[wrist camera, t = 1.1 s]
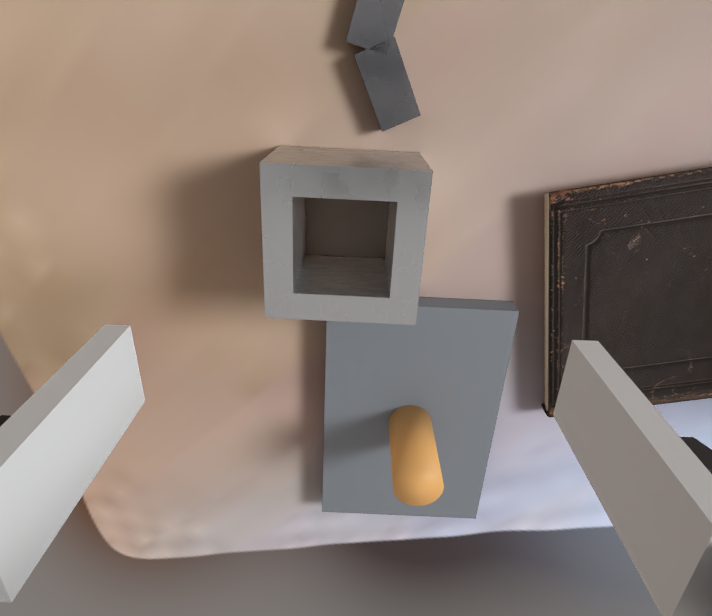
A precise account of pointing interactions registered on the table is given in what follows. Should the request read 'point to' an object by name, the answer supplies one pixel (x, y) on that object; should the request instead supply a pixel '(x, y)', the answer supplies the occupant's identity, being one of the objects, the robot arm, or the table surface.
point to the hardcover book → (633, 281)
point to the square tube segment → (334, 273)
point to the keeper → (414, 408)
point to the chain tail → (382, 61)
